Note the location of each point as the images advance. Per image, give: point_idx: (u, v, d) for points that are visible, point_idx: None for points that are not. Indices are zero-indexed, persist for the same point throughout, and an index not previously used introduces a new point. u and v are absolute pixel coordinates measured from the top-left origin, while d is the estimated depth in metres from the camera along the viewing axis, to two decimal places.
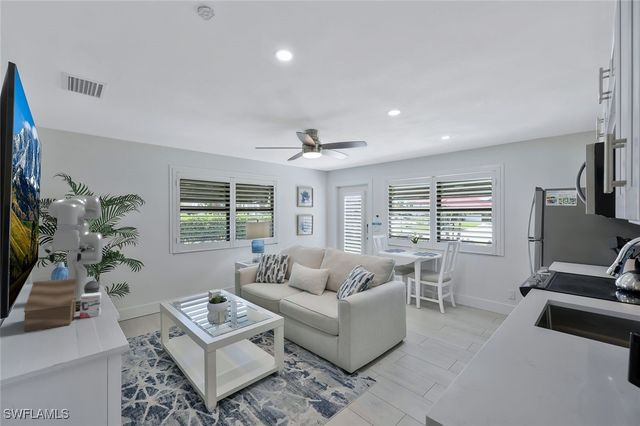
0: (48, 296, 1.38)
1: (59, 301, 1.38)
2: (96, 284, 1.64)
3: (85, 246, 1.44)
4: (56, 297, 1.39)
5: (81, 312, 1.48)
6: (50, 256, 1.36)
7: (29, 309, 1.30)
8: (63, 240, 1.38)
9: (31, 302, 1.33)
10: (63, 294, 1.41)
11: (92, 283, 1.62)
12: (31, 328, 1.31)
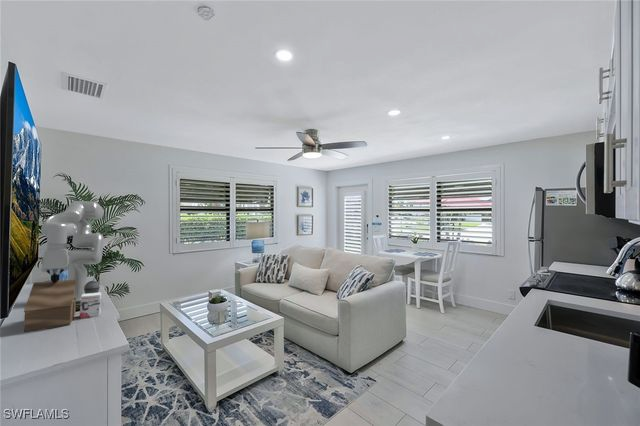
0: (48, 296, 1.38)
1: (59, 301, 1.38)
2: (96, 284, 1.64)
3: (66, 268, 1.46)
4: (56, 298, 1.39)
5: (81, 312, 1.48)
6: (51, 276, 1.43)
7: (29, 309, 1.30)
8: (52, 259, 1.42)
9: (31, 302, 1.33)
10: (63, 294, 1.41)
11: (92, 283, 1.62)
12: (31, 328, 1.31)
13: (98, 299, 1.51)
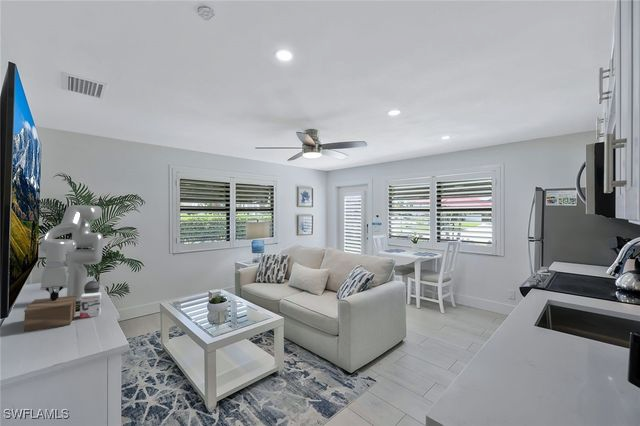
0: (48, 303, 1.39)
1: (59, 304, 1.39)
2: (96, 284, 1.64)
3: (65, 286, 1.46)
4: (57, 303, 1.40)
5: (81, 312, 1.48)
6: (50, 294, 1.43)
7: (29, 309, 1.31)
8: (51, 277, 1.42)
9: (32, 306, 1.34)
10: (63, 301, 1.43)
11: (92, 283, 1.62)
12: (31, 328, 1.31)
13: (98, 299, 1.51)
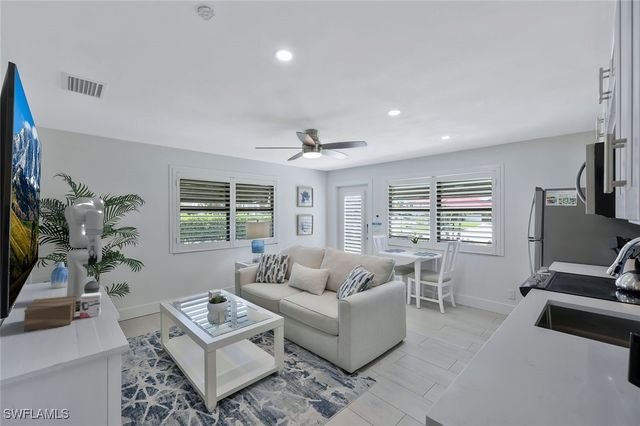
0: (48, 303, 1.39)
1: (59, 304, 1.39)
2: (96, 284, 1.64)
3: (90, 251, 1.45)
4: (57, 303, 1.40)
5: (81, 312, 1.48)
6: None
7: (29, 309, 1.31)
8: None
9: (32, 306, 1.34)
10: (63, 301, 1.43)
11: (92, 283, 1.62)
12: (31, 328, 1.31)
13: (98, 299, 1.51)
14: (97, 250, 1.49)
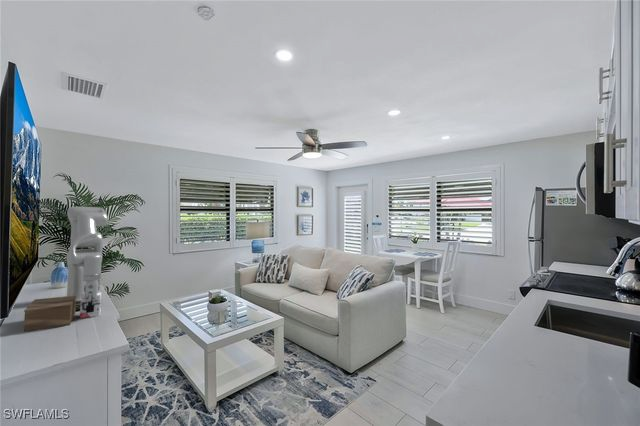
0: (48, 303, 1.39)
1: (59, 304, 1.39)
2: None
3: (88, 300, 1.46)
4: (57, 303, 1.40)
5: (81, 312, 1.48)
6: None
7: (29, 309, 1.31)
8: None
9: (32, 306, 1.34)
10: (63, 301, 1.43)
11: None
12: (31, 328, 1.31)
13: (98, 299, 1.51)
14: (95, 295, 1.49)
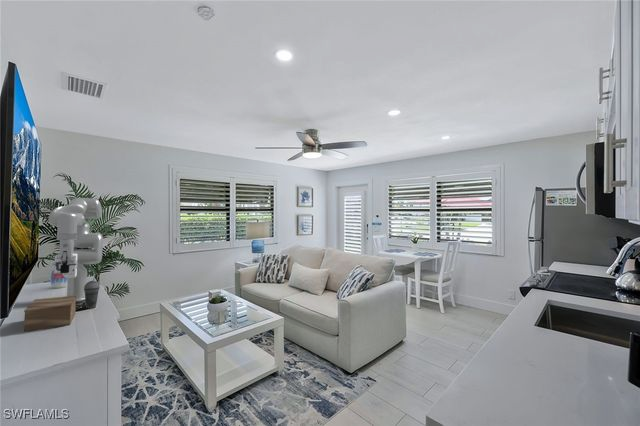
0: (48, 303, 1.39)
1: (59, 304, 1.39)
2: (96, 284, 1.64)
3: None
4: (57, 303, 1.40)
5: (55, 272, 1.40)
6: None
7: (29, 309, 1.31)
8: None
9: (32, 306, 1.34)
10: (63, 301, 1.43)
11: (92, 283, 1.62)
12: (31, 328, 1.31)
13: (74, 260, 1.44)
14: (70, 255, 1.42)
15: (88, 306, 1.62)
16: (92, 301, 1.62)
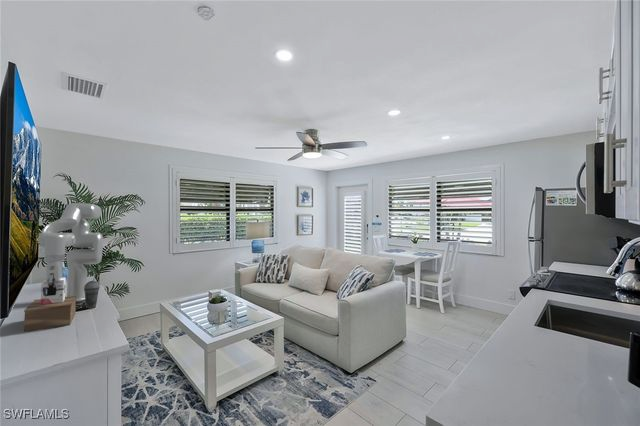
0: None
1: (59, 304, 1.39)
2: (96, 284, 1.64)
3: (49, 281, 1.36)
4: (57, 303, 1.40)
5: (42, 298, 1.38)
6: None
7: (29, 309, 1.31)
8: None
9: (32, 306, 1.34)
10: (63, 301, 1.43)
11: (92, 283, 1.62)
12: (31, 328, 1.31)
13: (61, 284, 1.41)
14: (57, 278, 1.39)
15: (88, 306, 1.62)
16: (92, 301, 1.62)
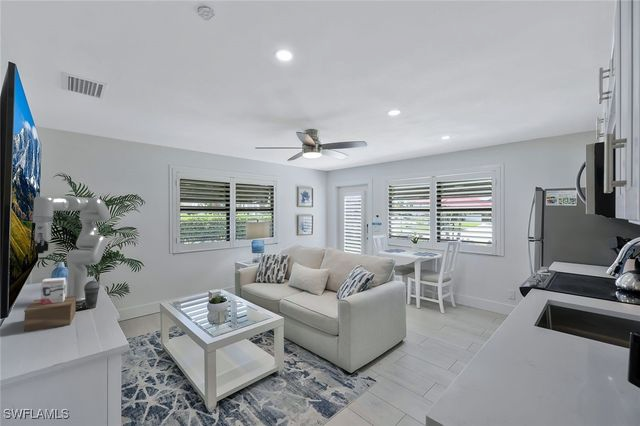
0: None
1: (59, 304, 1.39)
2: (96, 284, 1.64)
3: (37, 239, 1.41)
4: (57, 303, 1.40)
5: (42, 298, 1.38)
6: None
7: (29, 309, 1.31)
8: None
9: (32, 306, 1.34)
10: (63, 301, 1.43)
11: (92, 283, 1.62)
12: (31, 328, 1.31)
13: (61, 284, 1.42)
14: (45, 238, 1.45)
15: (88, 306, 1.62)
16: (92, 301, 1.62)
